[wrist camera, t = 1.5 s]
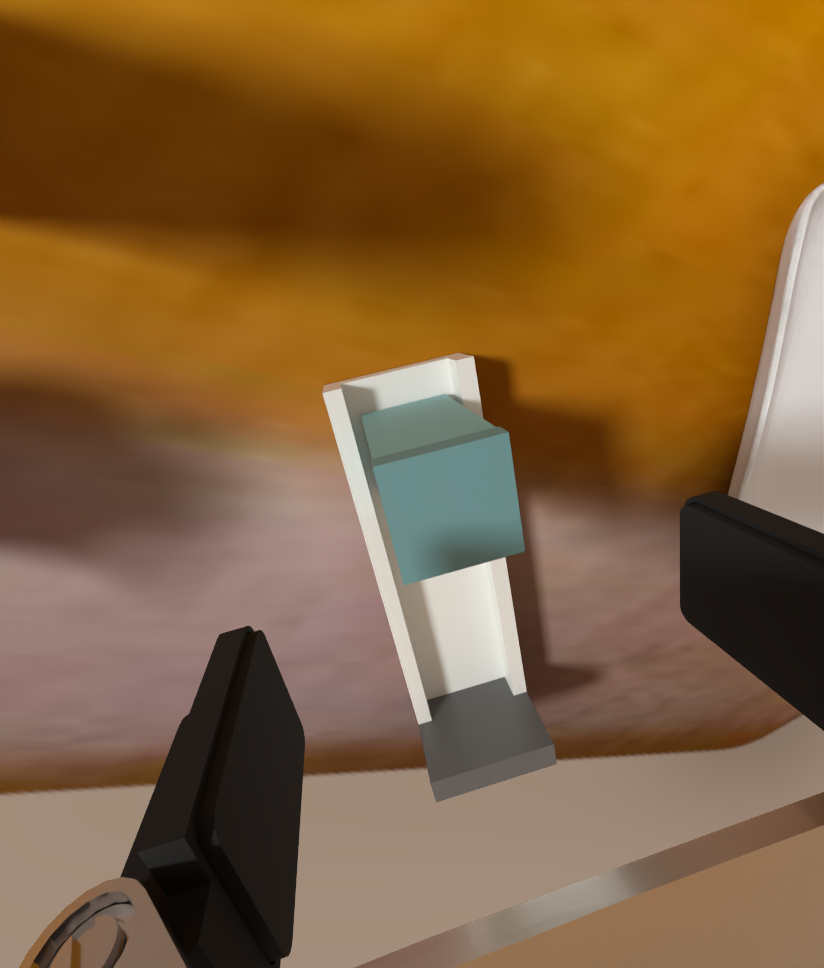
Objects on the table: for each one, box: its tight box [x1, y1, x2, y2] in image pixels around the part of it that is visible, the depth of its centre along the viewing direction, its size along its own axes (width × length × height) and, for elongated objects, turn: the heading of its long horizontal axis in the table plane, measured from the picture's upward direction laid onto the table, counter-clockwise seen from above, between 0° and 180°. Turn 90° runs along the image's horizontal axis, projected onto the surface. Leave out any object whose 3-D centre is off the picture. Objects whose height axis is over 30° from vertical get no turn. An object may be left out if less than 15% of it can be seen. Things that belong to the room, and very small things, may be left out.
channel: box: [323, 353, 556, 802], centre depth 22 cm, size 7×21×6 cm, turn 13°
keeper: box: [361, 394, 525, 585], centre depth 17 cm, size 4×4×8 cm
